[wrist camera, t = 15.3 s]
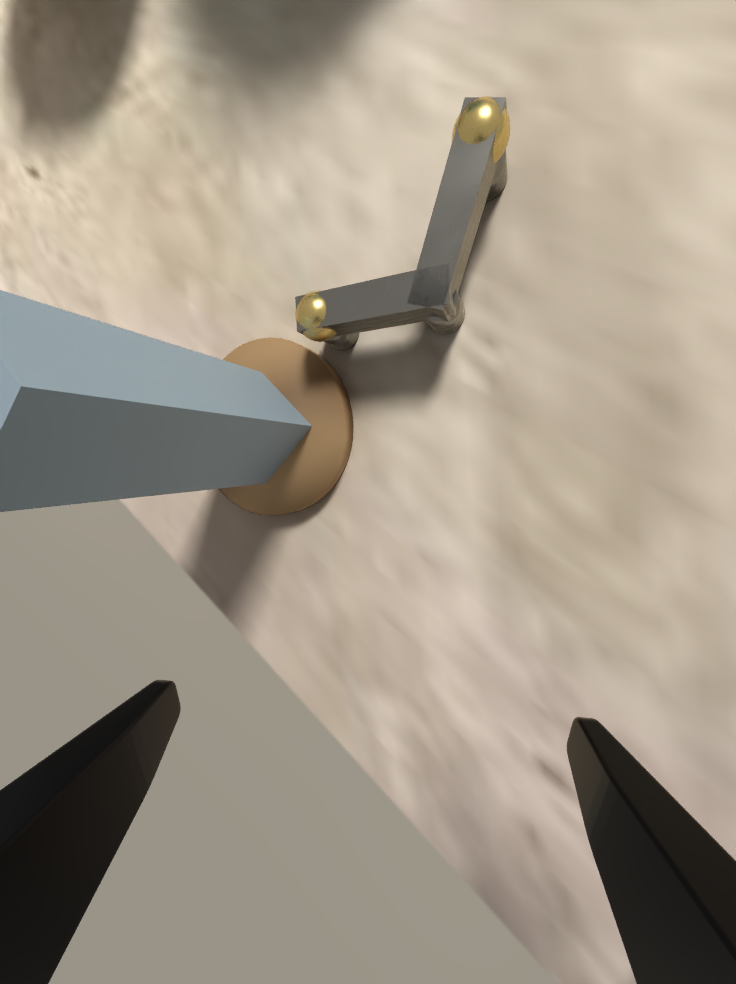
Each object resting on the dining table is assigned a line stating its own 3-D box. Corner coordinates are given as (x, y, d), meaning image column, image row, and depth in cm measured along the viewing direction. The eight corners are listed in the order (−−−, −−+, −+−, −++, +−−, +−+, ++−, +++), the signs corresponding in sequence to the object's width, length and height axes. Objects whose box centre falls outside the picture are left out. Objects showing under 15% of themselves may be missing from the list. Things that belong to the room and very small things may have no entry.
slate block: (312, 426, 19) (20, 385, 8) (265, 483, 21) (-40, 516, 9) (261, 372, 20) (-66, 269, 9) (220, 430, 21) (-111, 403, 10)
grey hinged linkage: (573, 226, 15) (585, 166, 12) (377, 408, 19) (346, 399, 16) (491, 143, 16) (482, 65, 13) (318, 333, 20) (277, 309, 17)
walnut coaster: (388, 440, 19) (381, 439, 18) (269, 544, 22) (258, 548, 21) (284, 305, 20) (273, 298, 19) (186, 421, 23) (172, 420, 23)
